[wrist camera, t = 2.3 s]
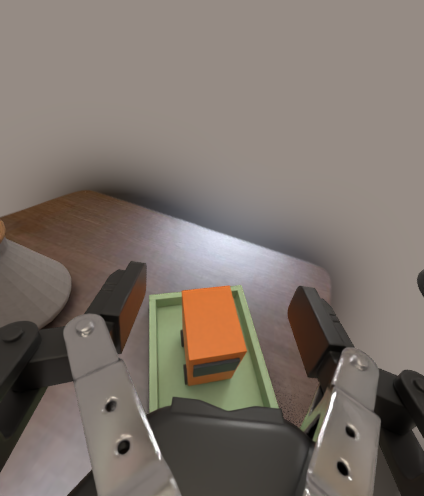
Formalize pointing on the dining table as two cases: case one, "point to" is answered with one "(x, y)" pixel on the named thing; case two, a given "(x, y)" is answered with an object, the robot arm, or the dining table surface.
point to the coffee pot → (30, 284)
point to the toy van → (210, 335)
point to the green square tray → (173, 358)
